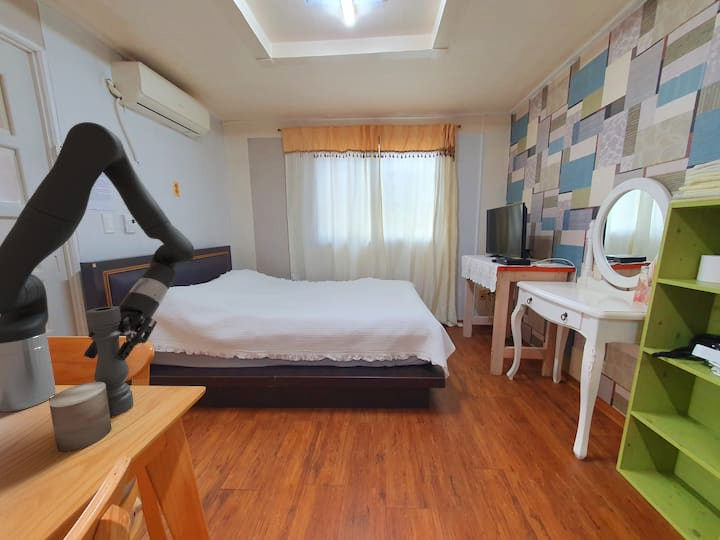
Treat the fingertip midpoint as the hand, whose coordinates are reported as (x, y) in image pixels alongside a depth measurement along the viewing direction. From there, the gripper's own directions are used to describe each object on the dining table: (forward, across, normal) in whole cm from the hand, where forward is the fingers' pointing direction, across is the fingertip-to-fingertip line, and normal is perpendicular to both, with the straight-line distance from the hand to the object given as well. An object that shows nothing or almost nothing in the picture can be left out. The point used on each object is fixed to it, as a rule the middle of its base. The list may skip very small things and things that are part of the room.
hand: (103, 358), depth 62 cm
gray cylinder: (+15, +3, +4) cm, 16 cm away
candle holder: (+9, 0, +11) cm, 14 cm away
